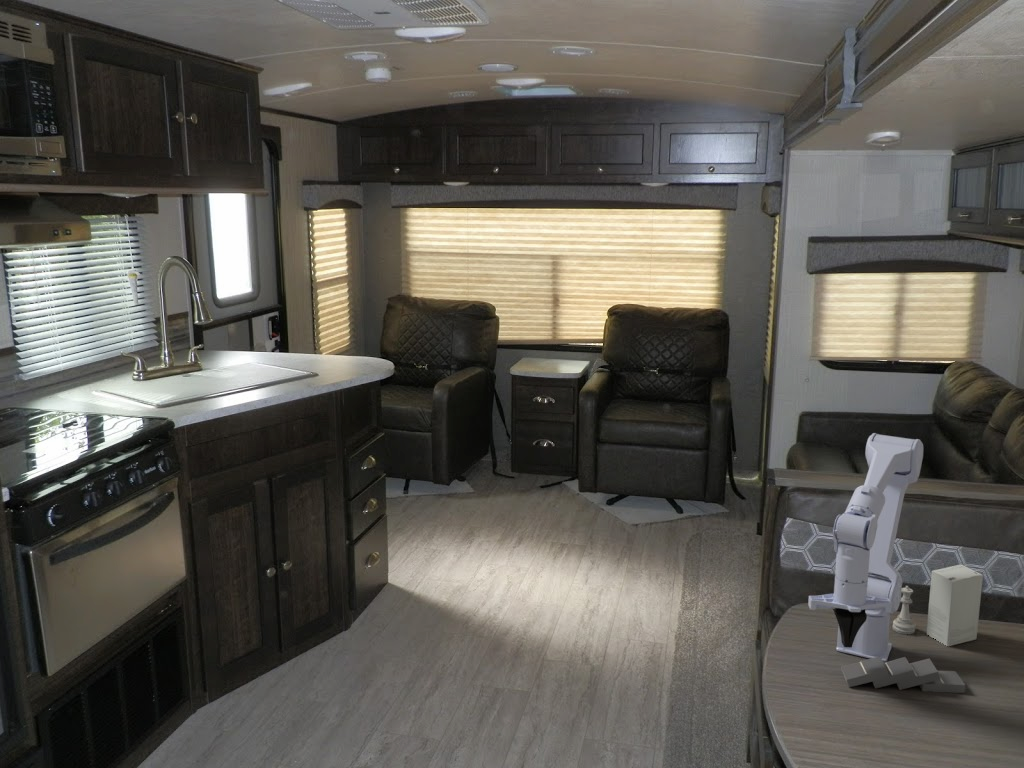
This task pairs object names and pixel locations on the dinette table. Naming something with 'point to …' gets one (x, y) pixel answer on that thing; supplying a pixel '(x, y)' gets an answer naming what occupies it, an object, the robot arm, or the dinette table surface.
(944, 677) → the domino
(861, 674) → the domino
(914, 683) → the domino
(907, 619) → the chess piece
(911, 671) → the domino
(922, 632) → the dinette table surface
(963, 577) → the skincare box
